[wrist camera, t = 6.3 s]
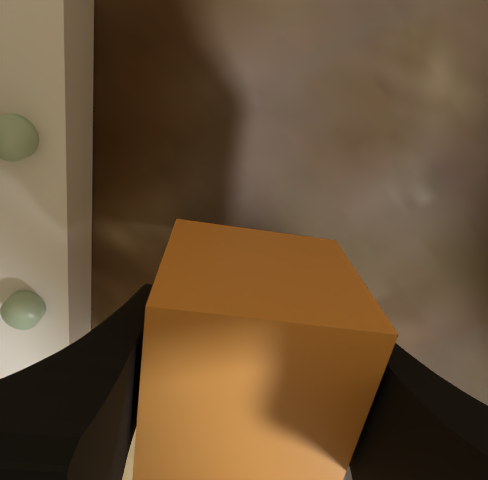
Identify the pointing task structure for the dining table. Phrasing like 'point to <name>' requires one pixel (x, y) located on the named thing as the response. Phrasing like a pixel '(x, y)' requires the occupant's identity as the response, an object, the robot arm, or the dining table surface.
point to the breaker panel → (45, 177)
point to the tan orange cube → (256, 358)
